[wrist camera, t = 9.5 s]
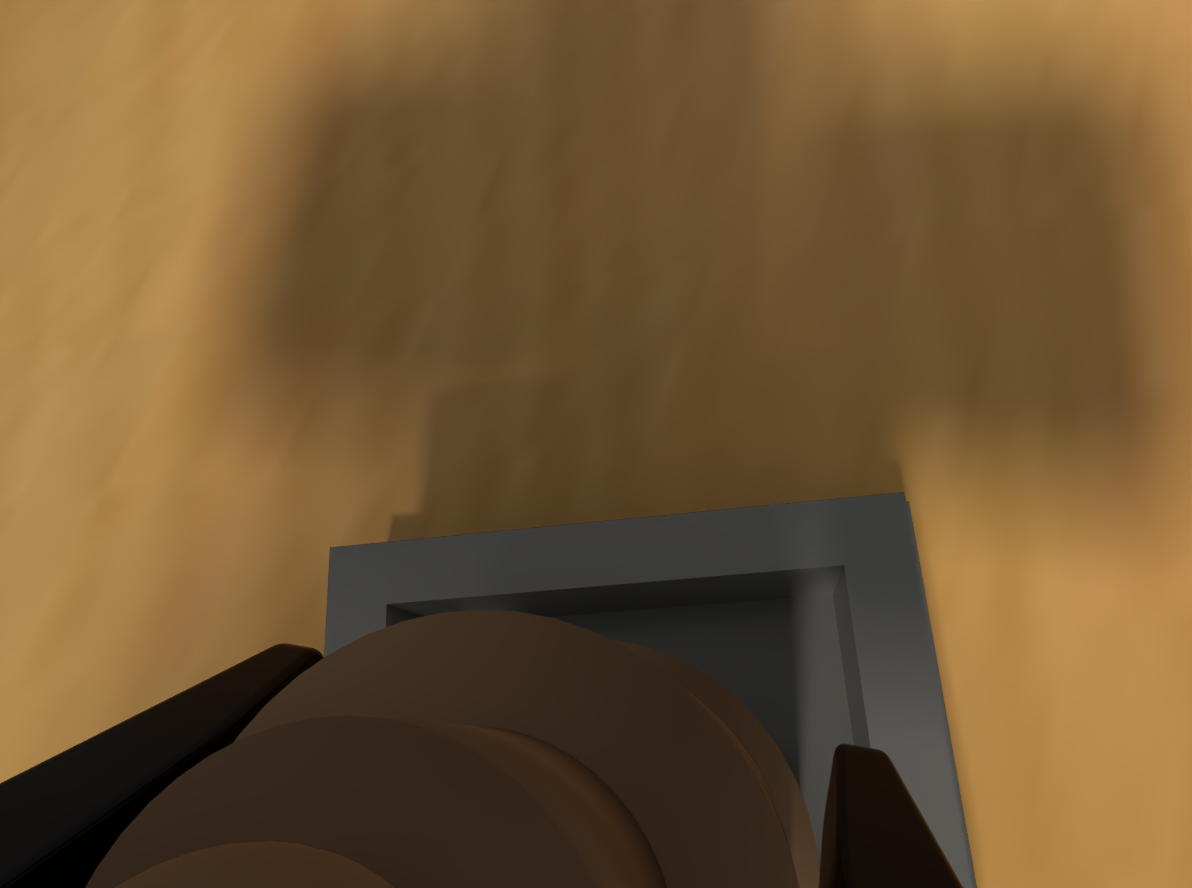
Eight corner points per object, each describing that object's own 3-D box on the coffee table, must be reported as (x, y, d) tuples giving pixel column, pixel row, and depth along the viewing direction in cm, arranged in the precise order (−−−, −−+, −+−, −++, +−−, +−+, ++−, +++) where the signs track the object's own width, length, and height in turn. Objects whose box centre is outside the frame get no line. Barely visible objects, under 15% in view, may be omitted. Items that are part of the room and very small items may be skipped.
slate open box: (1018, 1182, 13) (1094, 1314, 10) (364, 1170, 14) (255, 1282, 11) (902, 513, 16) (933, 456, 13) (383, 560, 18) (303, 520, 15)
